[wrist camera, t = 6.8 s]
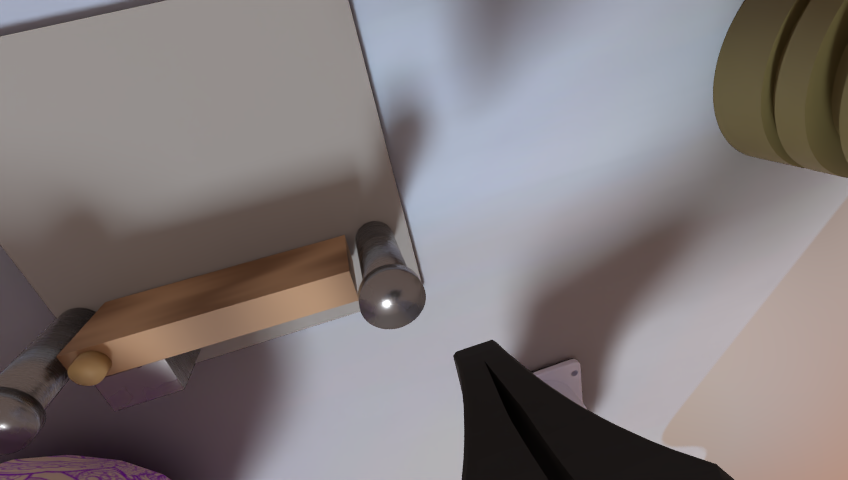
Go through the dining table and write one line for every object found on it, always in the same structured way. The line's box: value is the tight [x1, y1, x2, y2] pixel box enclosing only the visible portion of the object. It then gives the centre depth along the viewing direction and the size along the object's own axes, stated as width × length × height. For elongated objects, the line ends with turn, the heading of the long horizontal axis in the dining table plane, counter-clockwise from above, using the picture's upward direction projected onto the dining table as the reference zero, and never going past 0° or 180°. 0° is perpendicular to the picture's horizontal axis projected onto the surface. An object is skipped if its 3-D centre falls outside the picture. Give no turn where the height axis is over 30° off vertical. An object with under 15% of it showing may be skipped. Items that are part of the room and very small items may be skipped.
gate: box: [56, 235, 358, 386], centre depth 18 cm, size 12×2×5 cm, turn 102°
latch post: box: [0, 308, 201, 455], centre depth 18 cm, size 4×6×7 cm
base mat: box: [0, 0, 421, 363], centre depth 19 cm, size 16×17×1 cm
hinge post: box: [355, 221, 426, 329], centre depth 19 cm, size 3×3×7 cm
